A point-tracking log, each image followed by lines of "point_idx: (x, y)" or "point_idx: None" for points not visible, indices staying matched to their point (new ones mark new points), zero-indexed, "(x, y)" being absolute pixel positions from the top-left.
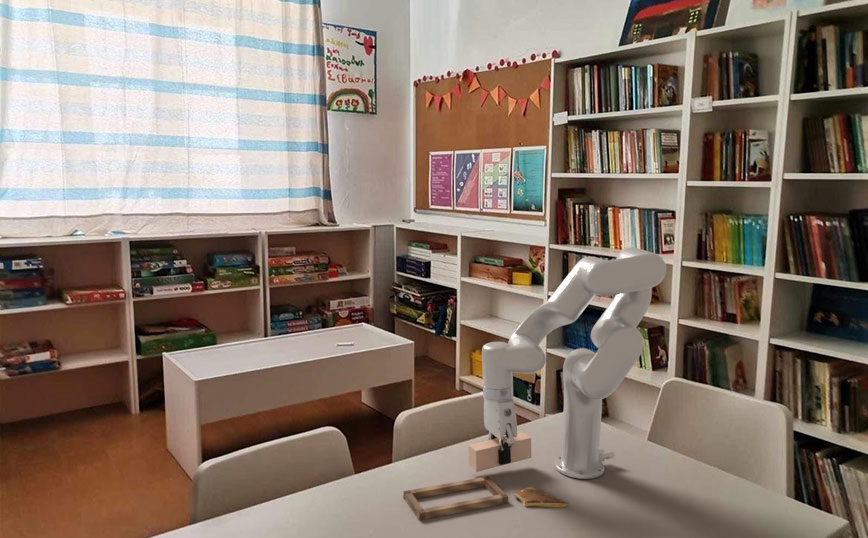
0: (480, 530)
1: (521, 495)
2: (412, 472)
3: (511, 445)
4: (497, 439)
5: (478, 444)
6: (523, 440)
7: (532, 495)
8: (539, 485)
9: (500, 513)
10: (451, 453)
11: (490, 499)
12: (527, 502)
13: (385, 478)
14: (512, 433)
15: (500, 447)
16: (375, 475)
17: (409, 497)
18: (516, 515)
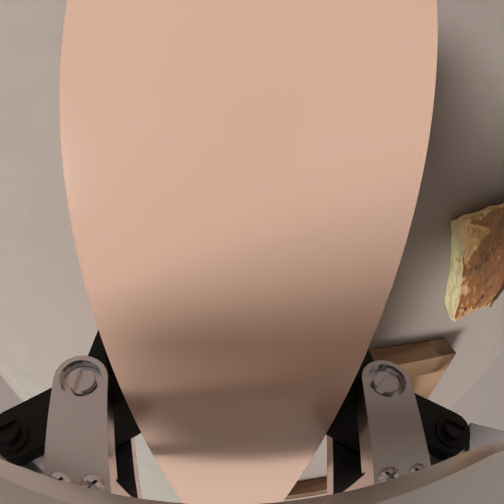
0: (449, 409)
1: (474, 303)
2: (141, 466)
3: (471, 432)
4: (176, 438)
5: (204, 497)
6: (412, 146)
7: (497, 268)
8: (447, 154)
9: (452, 368)
10: (11, 352)
11: (426, 397)
12: (495, 299)
13: (160, 491)
14: (459, 496)
15: (334, 440)
16: (143, 493)
17: (290, 497)
18: (483, 336)
